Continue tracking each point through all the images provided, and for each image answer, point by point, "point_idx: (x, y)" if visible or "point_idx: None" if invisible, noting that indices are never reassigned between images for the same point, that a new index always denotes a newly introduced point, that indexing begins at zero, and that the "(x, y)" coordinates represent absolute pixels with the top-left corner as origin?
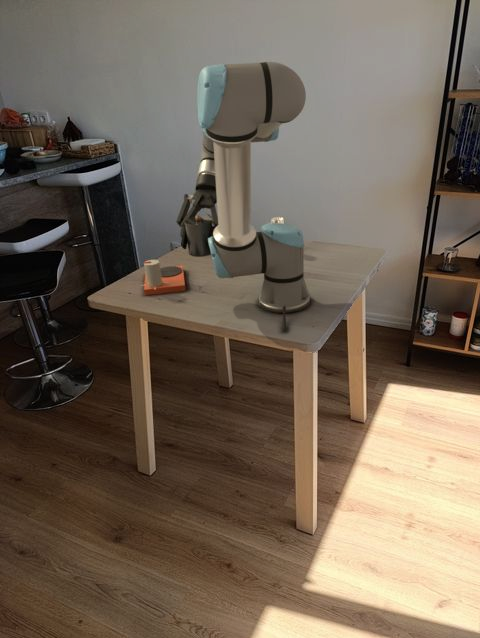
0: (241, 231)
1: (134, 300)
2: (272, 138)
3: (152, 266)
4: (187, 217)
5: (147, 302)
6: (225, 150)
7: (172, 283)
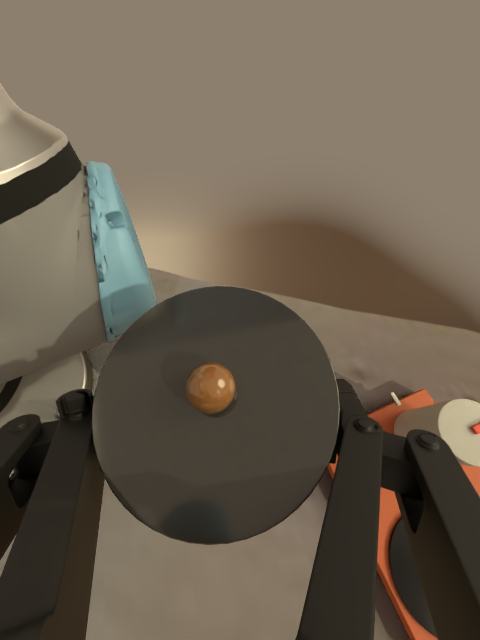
0: None
1: (423, 358)
2: None
3: (442, 403)
4: (353, 473)
5: (380, 352)
6: None
7: None
